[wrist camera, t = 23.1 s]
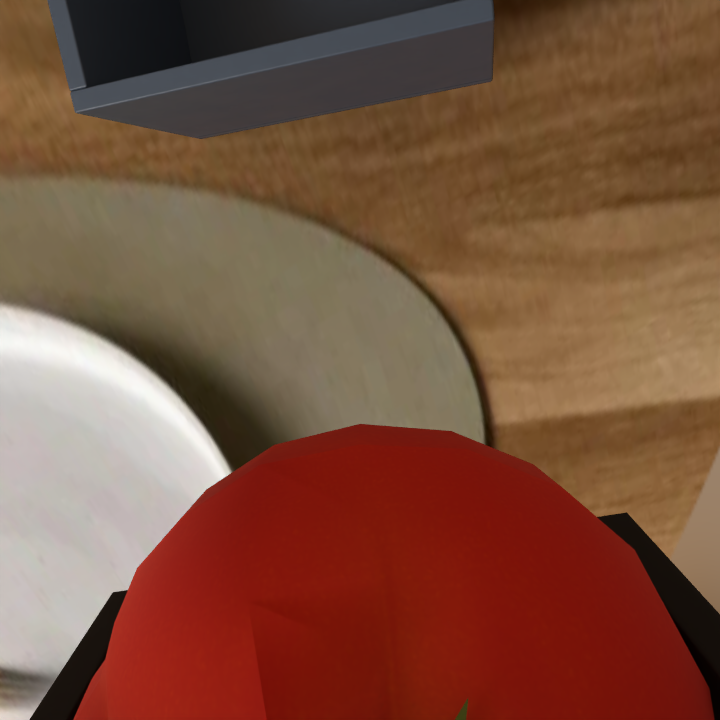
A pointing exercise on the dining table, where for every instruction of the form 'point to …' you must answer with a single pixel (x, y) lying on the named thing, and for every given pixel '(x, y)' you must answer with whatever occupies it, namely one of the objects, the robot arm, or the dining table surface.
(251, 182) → the dining table surface
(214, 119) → the handled storage bin
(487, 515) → the tomato
